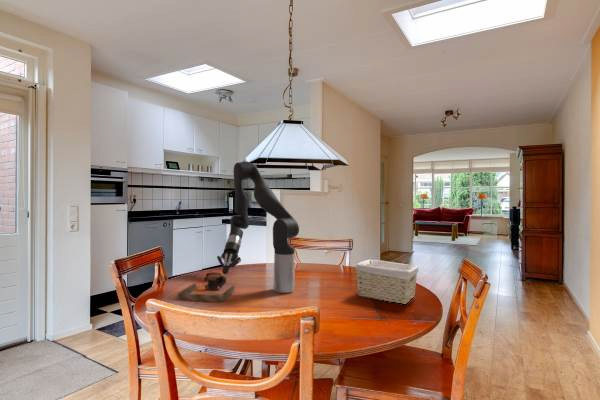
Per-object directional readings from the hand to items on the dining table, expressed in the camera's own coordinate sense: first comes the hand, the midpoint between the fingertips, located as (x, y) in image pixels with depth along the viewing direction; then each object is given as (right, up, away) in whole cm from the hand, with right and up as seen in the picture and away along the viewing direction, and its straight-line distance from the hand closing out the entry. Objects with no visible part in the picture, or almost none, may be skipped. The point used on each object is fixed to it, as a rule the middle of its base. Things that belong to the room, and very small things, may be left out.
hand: (224, 273), depth 169 cm
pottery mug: (-2, -5, -10) cm, 12 cm away
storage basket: (+75, -7, -18) cm, 78 cm away
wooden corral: (-3, -5, -22) cm, 23 cm away
